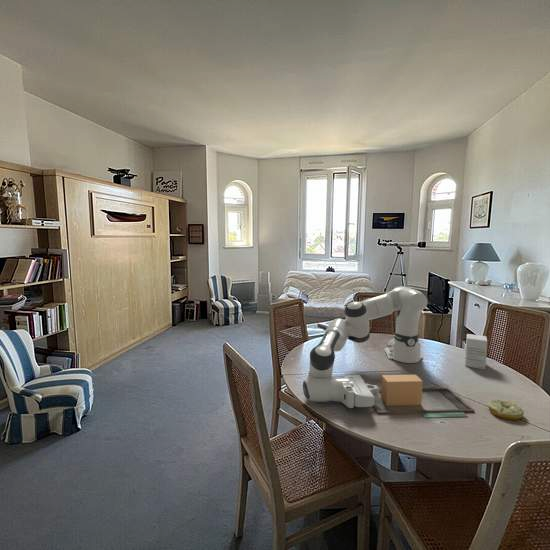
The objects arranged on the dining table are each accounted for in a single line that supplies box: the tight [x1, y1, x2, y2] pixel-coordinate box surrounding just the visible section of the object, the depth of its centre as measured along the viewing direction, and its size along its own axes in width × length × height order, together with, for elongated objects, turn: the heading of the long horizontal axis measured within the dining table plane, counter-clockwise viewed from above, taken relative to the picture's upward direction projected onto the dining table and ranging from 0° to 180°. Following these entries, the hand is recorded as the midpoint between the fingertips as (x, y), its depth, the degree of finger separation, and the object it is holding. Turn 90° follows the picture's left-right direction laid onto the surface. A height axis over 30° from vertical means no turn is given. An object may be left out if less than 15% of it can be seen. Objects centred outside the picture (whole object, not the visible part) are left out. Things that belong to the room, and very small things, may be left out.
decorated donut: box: [487, 399, 525, 421], centre depth 120 cm, size 10×11×4 cm
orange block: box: [380, 374, 423, 407], centre depth 129 cm, size 6×14×10 cm, turn 91°
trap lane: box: [372, 385, 476, 419], centre depth 130 cm, size 24×37×1 cm, turn 91°
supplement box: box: [464, 333, 488, 370], centre depth 165 cm, size 9×9×15 cm
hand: (378, 388), depth 128 cm, fingers closed
